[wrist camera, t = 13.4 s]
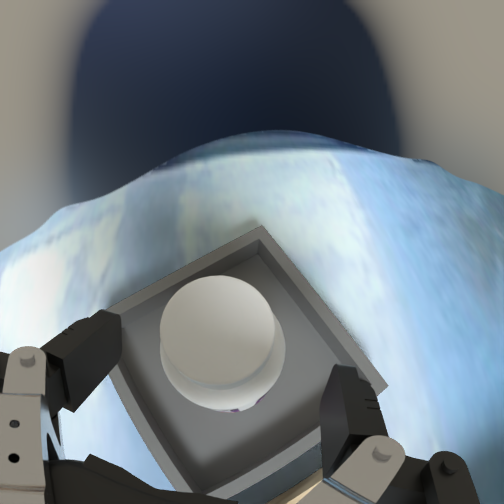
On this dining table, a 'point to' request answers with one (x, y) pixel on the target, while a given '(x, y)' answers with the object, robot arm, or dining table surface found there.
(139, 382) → the charcoal tray
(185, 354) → the pill bottle
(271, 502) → the oak collar
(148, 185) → the dining table surface
